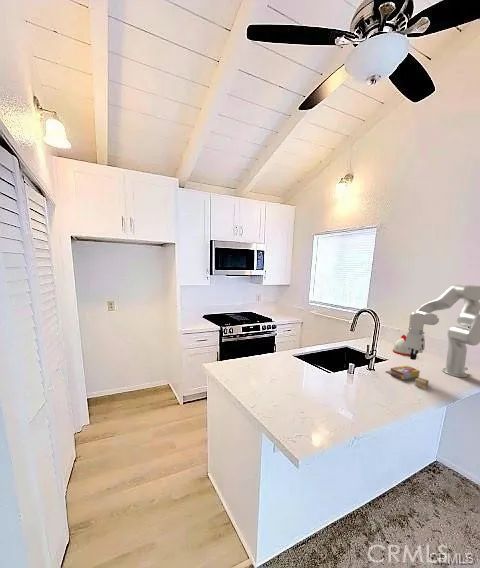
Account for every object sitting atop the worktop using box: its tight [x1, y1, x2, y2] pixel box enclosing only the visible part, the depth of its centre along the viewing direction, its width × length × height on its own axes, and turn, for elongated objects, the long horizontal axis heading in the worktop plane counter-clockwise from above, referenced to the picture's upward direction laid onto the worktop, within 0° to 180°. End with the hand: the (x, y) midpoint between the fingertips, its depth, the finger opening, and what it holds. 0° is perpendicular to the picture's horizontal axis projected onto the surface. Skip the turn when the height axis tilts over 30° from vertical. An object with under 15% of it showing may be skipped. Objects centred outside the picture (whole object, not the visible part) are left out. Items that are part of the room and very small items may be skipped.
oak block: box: [414, 376, 430, 390], centre depth 150 cm, size 5×5×4 cm
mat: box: [385, 370, 418, 382], centre depth 165 cm, size 14×14×1 cm
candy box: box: [389, 365, 421, 380], centre depth 164 cm, size 9×4×15 cm
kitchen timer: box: [392, 334, 411, 357], centre depth 209 cm, size 14×14×15 cm
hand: (413, 359), depth 166 cm, fingers closed
